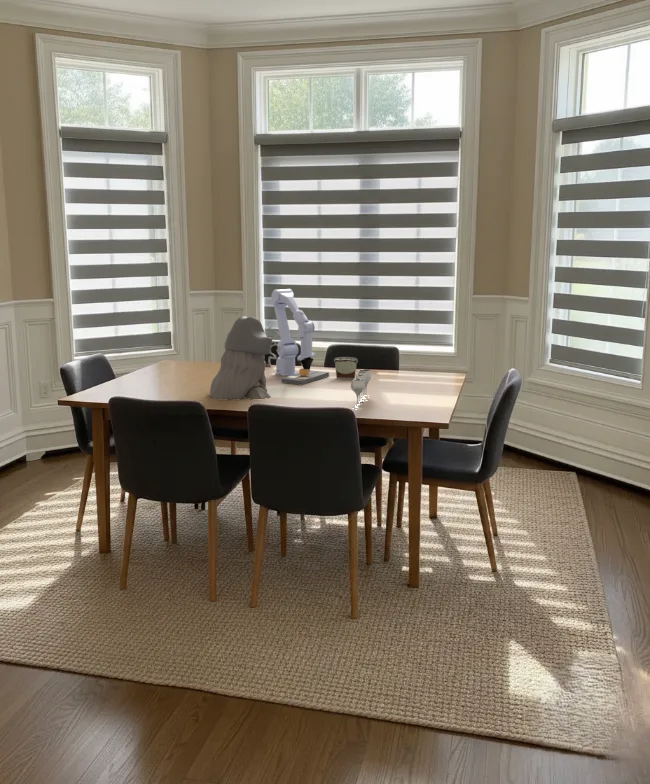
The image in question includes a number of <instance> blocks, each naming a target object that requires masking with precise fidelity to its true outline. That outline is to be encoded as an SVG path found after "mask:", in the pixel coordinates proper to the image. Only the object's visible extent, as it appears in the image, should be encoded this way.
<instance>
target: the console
mask: <svg viewBox="0 0 650 784" xmlns="http://www.w3.org/2000/svg"><path fill="white" fill-rule="evenodd" d="M326 376H328V377H329V376H330V372H328V371H319V370H311V369H310V371H309V375H307V376H303V375H299V372H298V374H295V375H291V376H288V375H287V376H285V377H282V378H281V383H282V382H286V383H285V384H290V383H293V385H299V384H301V385H300V386H302V385H306V384H309V382H310V383H312V382H311V381H313V382H315V381H314V380H316V381H318V380H317V379H319V380H321V379H320V378H322V379H324V378H323V377H325V378H327V377H326Z"/></svg>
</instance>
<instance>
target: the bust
mask: <svg viewBox="0 0 650 784" xmlns="http://www.w3.org/2000/svg"><path fill="white" fill-rule="evenodd" d="M267 330H270V331H274V332H275V330H274V329H272V326H269V327H268V329H267ZM279 336H280V333H279V331H276V335H274V336H271V337H269V336H267V334H266V331H265V330H264V327H263V325H262V323H261V321H260V320H259V319H258V318H256V317H253V316H246V315H243V316H240V317H238V318H237V319H236V320H235V321H234V323H233V325H232V327H231V329H230V330H229V332H228V333H227V335H226V338H225V341H224V344H223V345H224V349H225V350H224V352H223V354H222V355H221V358H220V367H219V369H218V371H217V374H215V376H214V378H213V379H212V381H211V384H210V390H209V393H210V394H211V395H210V398H211V397H212V398H211V399H213V398H215V399H214V400H220V399H223V400H224V399H230V401H234V400H233V399H240V400H244V399H248V398H250V399H249V400H252V399H263V400H266V399H265V398H267V399H270V398H271V397H272V396H271V395H270V394H269V393H268V389H267V377H266V375H265V370H266V368H272V364H271V359H272V360H277V358H278V357H277V355H276V354H274V353H273V352H272V347H274V346H277V348H278V347H279V350H280V349H281V347H280V346H279V345H277V344H278V343H277V342H276V341H273V338H279ZM273 343H274V344H273ZM279 350H278V349H276V352H277V353H278V352H279ZM265 355H272V356H268V359H267V362H266V361H265ZM244 397H245V398H244ZM243 398H244V399H243Z"/></svg>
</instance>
